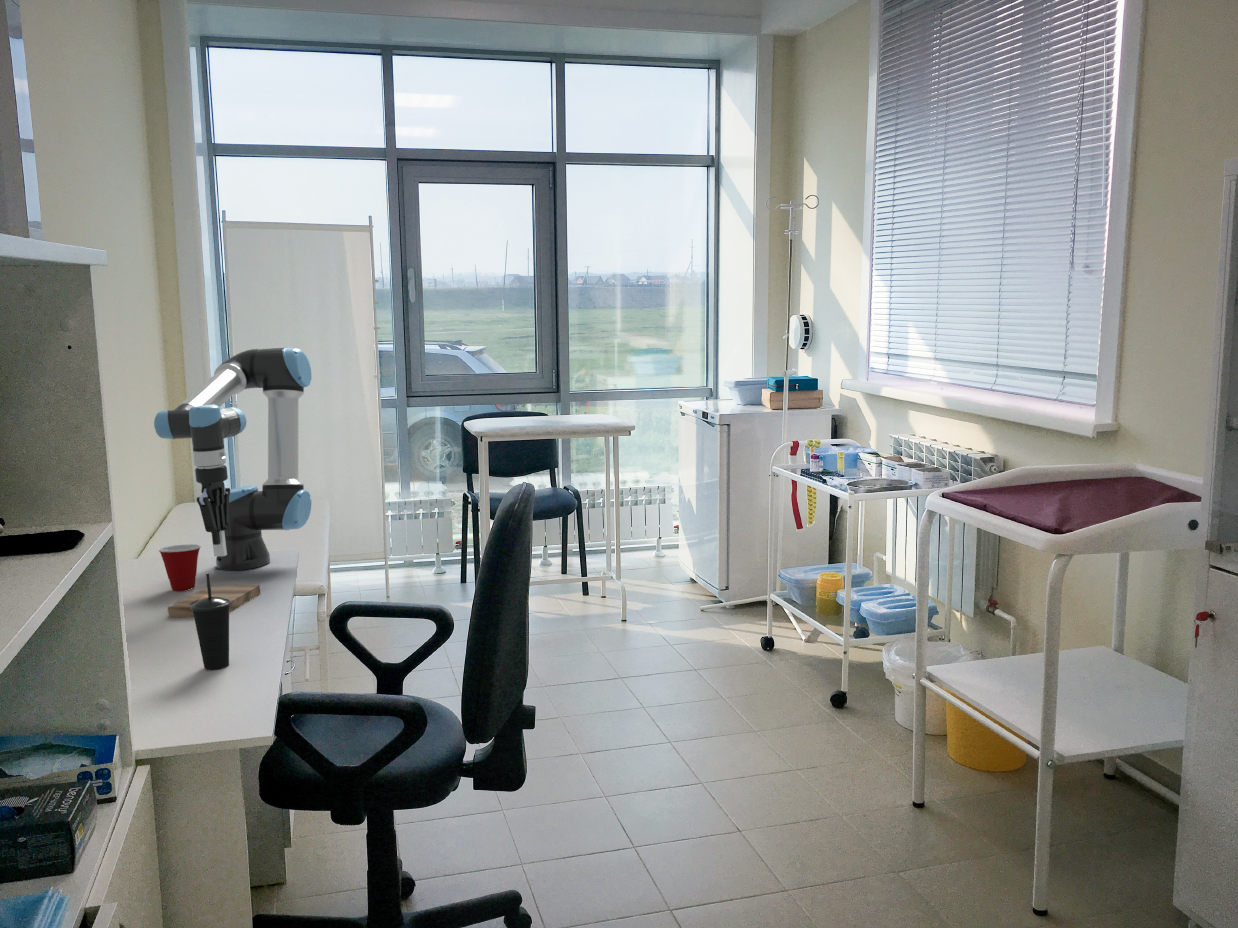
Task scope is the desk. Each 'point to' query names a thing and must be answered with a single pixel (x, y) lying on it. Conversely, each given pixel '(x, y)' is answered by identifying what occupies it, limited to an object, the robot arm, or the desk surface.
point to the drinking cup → (213, 629)
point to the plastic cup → (181, 565)
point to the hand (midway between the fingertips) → (220, 555)
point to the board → (230, 592)
